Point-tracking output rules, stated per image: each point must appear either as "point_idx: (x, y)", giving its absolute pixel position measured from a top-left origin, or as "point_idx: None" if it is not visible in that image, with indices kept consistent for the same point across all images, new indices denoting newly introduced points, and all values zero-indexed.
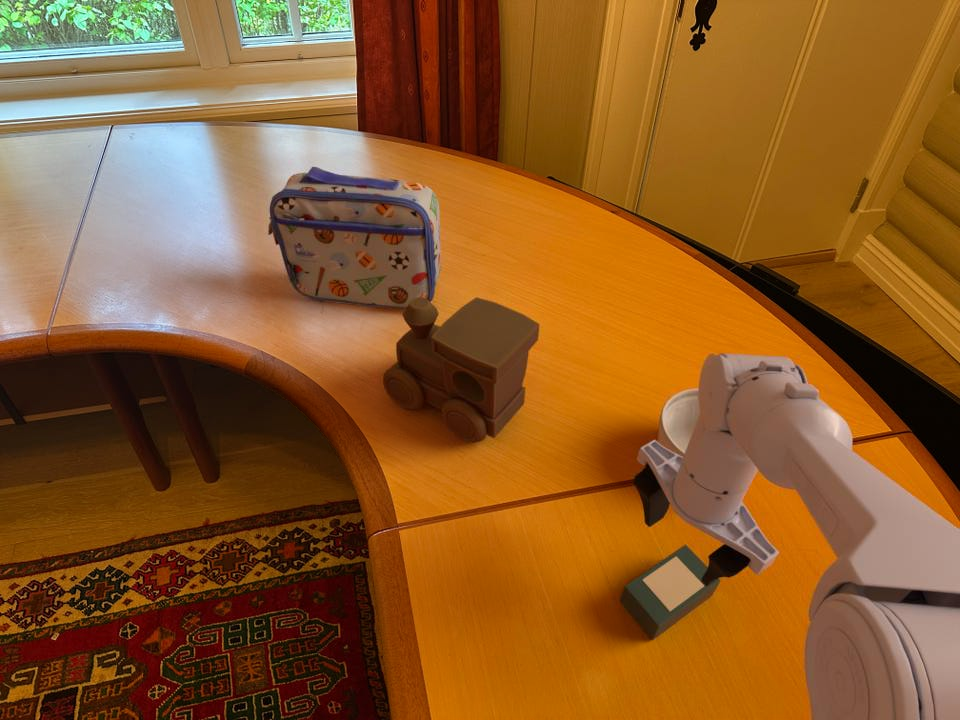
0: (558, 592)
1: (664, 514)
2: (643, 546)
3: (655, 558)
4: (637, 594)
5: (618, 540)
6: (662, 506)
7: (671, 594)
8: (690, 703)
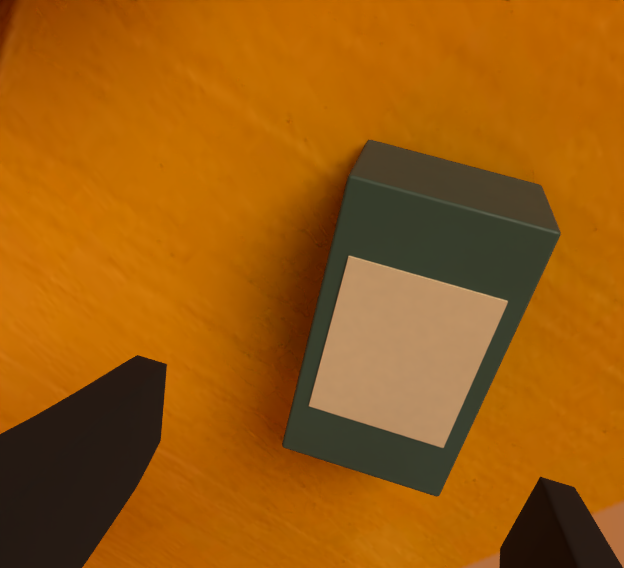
0: (182, 437)
1: (149, 389)
2: (244, 174)
3: (302, 187)
4: (328, 451)
5: (174, 212)
6: (83, 490)
7: (417, 400)
8: (605, 492)
